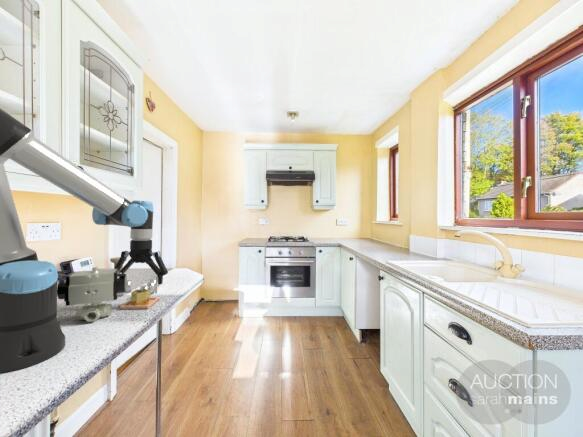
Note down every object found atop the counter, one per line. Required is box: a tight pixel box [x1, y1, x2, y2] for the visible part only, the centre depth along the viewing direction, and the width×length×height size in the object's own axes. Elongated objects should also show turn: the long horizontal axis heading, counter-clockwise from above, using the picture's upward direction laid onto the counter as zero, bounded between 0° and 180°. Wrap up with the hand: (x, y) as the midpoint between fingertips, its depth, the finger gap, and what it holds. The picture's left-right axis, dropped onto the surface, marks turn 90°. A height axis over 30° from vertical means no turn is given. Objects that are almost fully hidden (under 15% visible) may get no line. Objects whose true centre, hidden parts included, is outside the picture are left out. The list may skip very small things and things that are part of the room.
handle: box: [110, 256, 128, 270], centre depth 117 cm, size 5×6×15 cm
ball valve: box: [57, 266, 128, 323], centre depth 85 cm, size 18×8×18 cm, turn 118°
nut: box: [130, 289, 151, 306], centre depth 99 cm, size 6×6×5 cm
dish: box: [119, 296, 160, 310], centre depth 99 cm, size 10×10×1 cm
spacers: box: [118, 278, 156, 298], centre depth 111 cm, size 15×15×5 cm
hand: (139, 292), depth 99 cm, fingers open, 13 cm apart
